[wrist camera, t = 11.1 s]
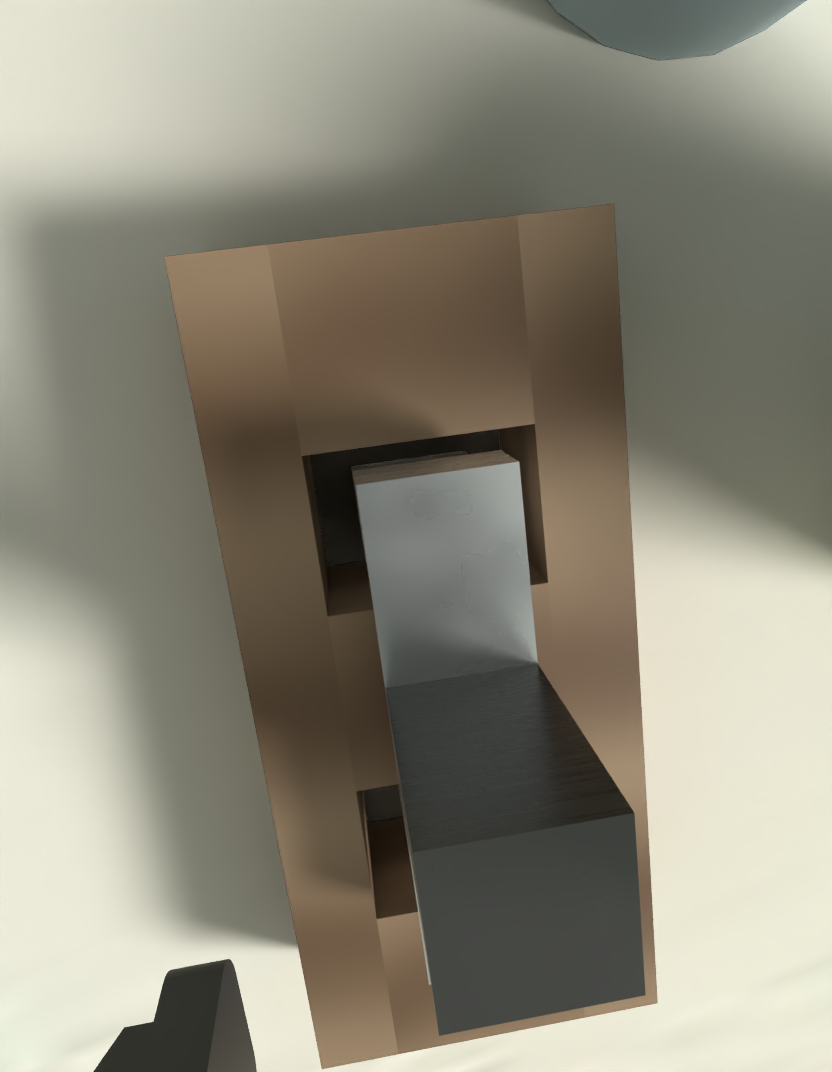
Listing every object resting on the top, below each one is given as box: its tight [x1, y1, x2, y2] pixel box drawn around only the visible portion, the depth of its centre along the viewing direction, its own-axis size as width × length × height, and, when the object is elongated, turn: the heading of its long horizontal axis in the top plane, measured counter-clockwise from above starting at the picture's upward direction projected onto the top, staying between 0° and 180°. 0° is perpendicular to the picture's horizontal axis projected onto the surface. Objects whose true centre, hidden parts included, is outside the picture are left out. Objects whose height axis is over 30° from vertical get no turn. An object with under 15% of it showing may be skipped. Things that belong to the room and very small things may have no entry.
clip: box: [351, 450, 646, 1036], centre depth 16 cm, size 11×3×12 cm, turn 7°
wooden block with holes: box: [164, 204, 657, 1069], centre depth 20 cm, size 20×9×4 cm, turn 7°
